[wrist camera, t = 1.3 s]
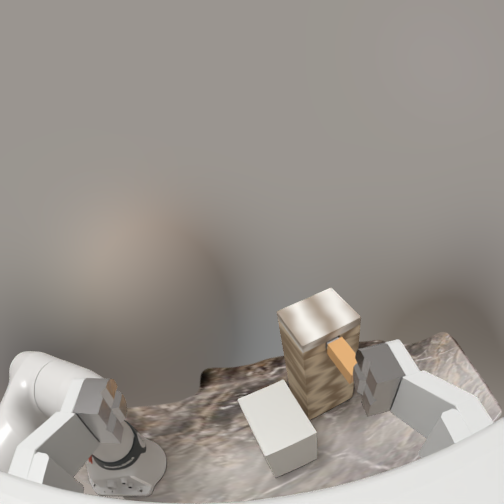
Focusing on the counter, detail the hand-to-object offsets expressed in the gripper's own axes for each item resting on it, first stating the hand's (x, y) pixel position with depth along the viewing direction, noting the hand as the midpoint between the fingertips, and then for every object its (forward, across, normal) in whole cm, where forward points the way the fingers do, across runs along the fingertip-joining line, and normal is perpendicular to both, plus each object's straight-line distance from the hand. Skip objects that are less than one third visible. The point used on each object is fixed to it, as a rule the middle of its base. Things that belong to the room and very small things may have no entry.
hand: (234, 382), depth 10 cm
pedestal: (+28, +4, -58) cm, 65 cm away
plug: (+31, +15, -33) cm, 48 cm away
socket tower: (+40, +15, -56) cm, 71 cm away
